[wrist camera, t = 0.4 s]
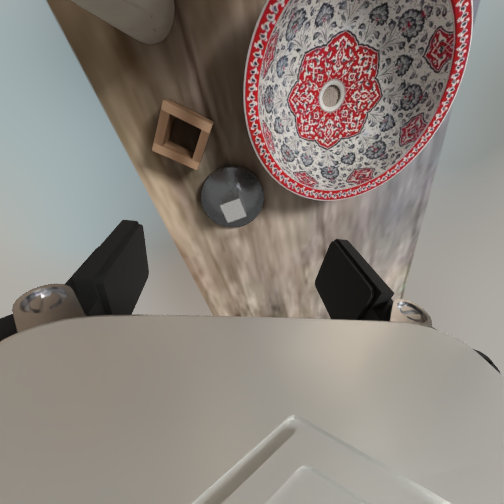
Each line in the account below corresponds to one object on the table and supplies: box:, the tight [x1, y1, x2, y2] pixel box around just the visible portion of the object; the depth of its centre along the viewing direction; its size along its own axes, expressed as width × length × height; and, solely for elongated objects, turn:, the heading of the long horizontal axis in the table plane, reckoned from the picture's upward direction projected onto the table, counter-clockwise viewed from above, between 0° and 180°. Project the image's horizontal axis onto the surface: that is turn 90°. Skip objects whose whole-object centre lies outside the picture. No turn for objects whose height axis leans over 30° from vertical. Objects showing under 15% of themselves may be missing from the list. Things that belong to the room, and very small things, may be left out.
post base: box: [201, 166, 264, 227], centre depth 41 cm, size 12×12×6 cm
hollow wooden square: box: [152, 99, 214, 170], centre depth 35 cm, size 7×7×5 cm
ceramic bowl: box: [243, 0, 473, 201], centre depth 32 cm, size 29×29×8 cm
